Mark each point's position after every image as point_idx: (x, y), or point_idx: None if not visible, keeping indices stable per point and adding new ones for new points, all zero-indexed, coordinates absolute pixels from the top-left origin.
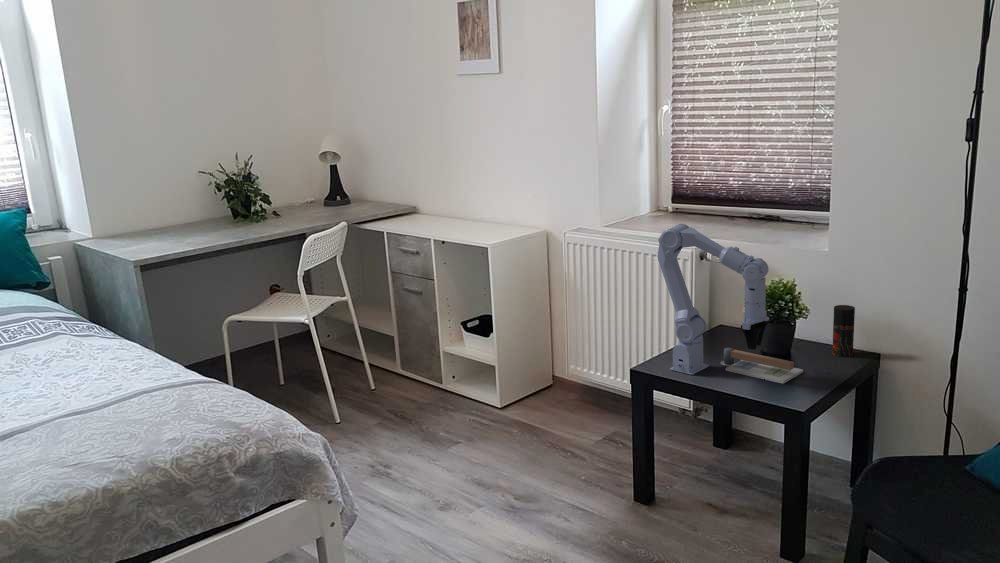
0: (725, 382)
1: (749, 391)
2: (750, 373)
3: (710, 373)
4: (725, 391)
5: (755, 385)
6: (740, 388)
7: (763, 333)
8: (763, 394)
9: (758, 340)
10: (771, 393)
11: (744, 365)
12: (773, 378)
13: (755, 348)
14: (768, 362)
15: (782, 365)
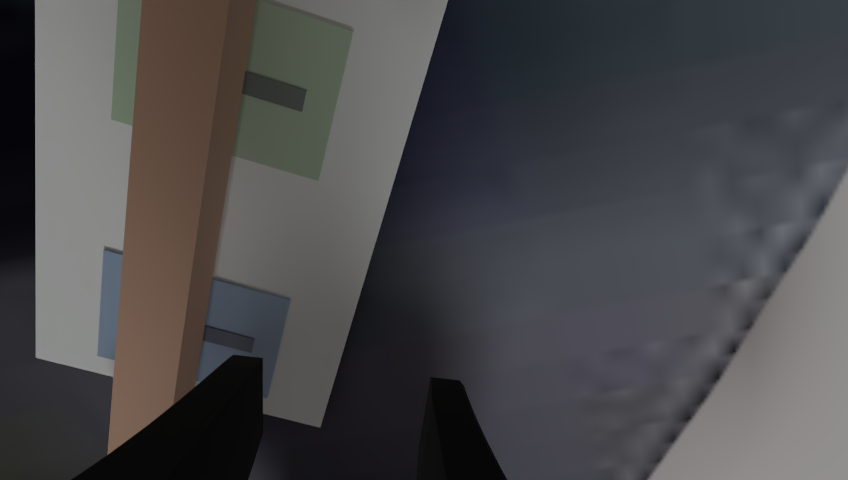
0: (544, 374)
1: (694, 202)
2: (363, 268)
3: (408, 472)
4: (717, 343)
5: (554, 187)
6: (641, 270)
7: (103, 468)
8: (749, 89)
9: (234, 428)
10: (717, 29)
11: (218, 337)
12: (415, 74)
13: (461, 387)
14: (218, 176)
15: (241, 20)
